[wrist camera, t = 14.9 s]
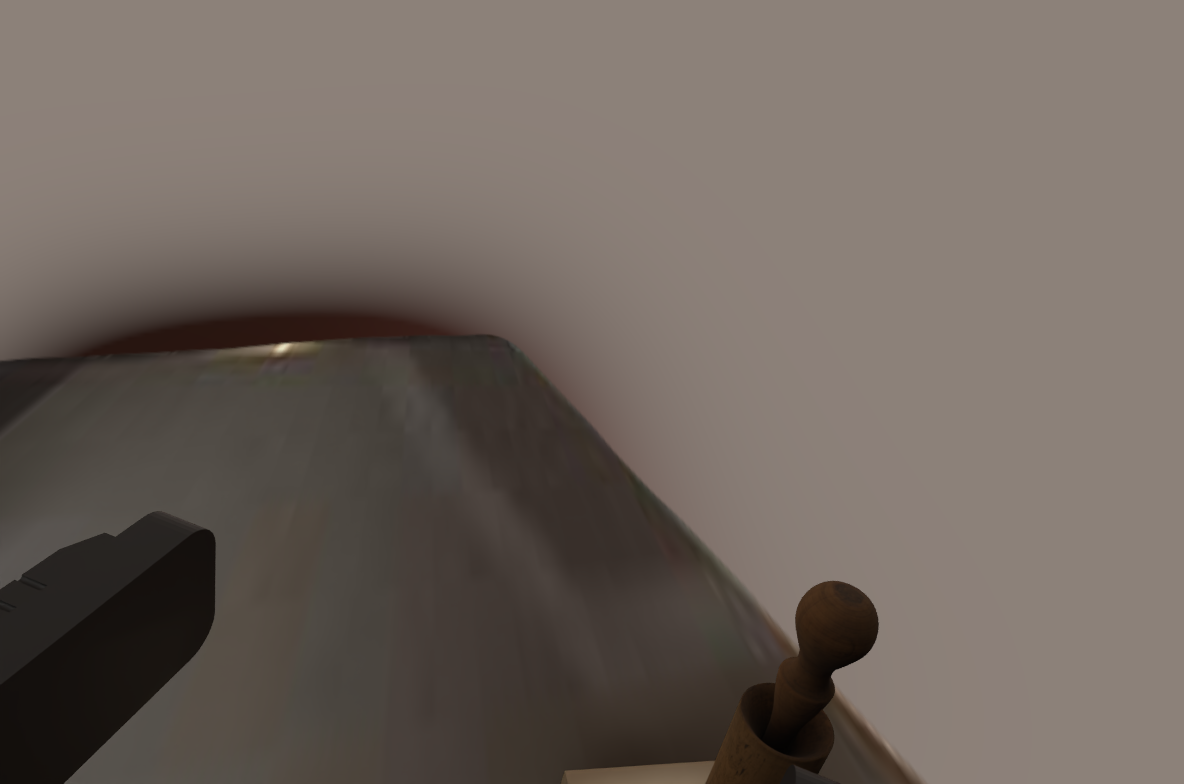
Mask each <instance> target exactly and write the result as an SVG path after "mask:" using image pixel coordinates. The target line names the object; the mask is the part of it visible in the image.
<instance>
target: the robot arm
mask: <svg viewBox="0 0 1184 784" xmlns="http://www.w3.org/2000/svg"><path fill="white" fill-rule="evenodd" d="M215 548H216V544H215V537H214V535H213V533H212V532H211V531H210V530H207V529H205V528H202V527H200V526H197V525H195V524H192V523H190V522H187V521H185V520H182V519H180V518H177V517H175V516H172V515H170V514H167V513H165V512H162V511H157V512H152V513H150V514H148V515H146V516H145V517H143V518H142V519H140V520H139V521H137V522H136V523H134V524H133V525H132V526H130V527H129V528H127V529H126V530H125V531H123V532H122V533H120V534H119V535H118V536H116V537H114V536H112V535H109V534H107V533H103V534H100V535H98V536H95V537H92V538H89V539H87V540H84V541H81V542H78V543H76V544H73V545H70V546H67V547H65V548H62V549H59V550H58V551H56V552H55V553H53V554H52V555H51V556H49V557H48V558H46V559H45V560H43V561H42V562H40V563H39V564H37V565H36V566H34V567H33V568H31V569H30V570H28V571H27V572H25V573H24V574H22V577H21V579H20V580H19V581H16V580H14V581H12V582H11V583H9V584H8V585H6V586H5V587H3V588H2V589H0V784H64V783H65V782H66V781H67V780H68V779H69V778H70V777H71V776H72V775H73V774H74V773H75V772H76V771H77V770H78V769H79V768H80V767H81V766H82V765H83V764H84V763H85V762H86V761H87V760H88V759H89V758H90V757H91V756H92V755H93V754H94V753H95V752H96V751H97V750H98V749H99V748H100V747H101V746H103V745H104V744H105V743H106V742H107V741H108V740H109V739H110V738H111V737H112V736H113V735H114V734H115V733H116V732H117V731H118V730H119V729H120V728H121V727H122V726H123V725H124V724H125V723H126V722H127V721H128V720H129V719H130V718H131V717H132V716H133V715H134V714H135V713H136V712H137V711H138V710H139V709H140V708H141V707H142V706H143V705H144V704H146V703H147V702H148V701H149V700H150V699H151V698H152V697H153V696H154V695H155V694H156V693H157V692H158V691H159V690H160V689H161V688H162V687H163V686H164V685H165V684H166V683H167V682H168V681H169V680H170V679H171V678H172V677H173V676H174V675H175V674H176V673H177V672H178V671H179V670H180V669H181V668H182V667H183V666H184V665H185V664H186V663H188V662H189V661H190V660H191V658H192V657H193V656H194V655H195V654H196V653H197V652H198V650H199V649H200V647H201V646H202V644H203V643H204V641H205V639H206V638H207V635H208V633H209V631H210V629H211V626H212V623H213V620H214V614H215ZM780 784H840V783H838V782H835V781H833V780H830V779H828V778H825V777H823V776H820V775H818V774H815V773H813V772H810V771H808V770H805V769H803V768H800V767H798V766H795V765H790V766H789V768H788V769H787V770H786V772H785V774H784V776H783V778H782V780H781V782H780Z"/></svg>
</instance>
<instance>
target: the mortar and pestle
mask: <svg viewBox="0 0 1184 784" xmlns="http://www.w3.org/2000/svg"><path fill="white" fill-rule="evenodd" d="M795 623H796V631H797V638H798V643H799V648H800V651H799V655H798V657H791V658H788V659H786V660H784V661H783V662H782V663H781V665H780V667H779V670H778V674H777V678H776V683H762V684H757V685H754V686H752V687H750V688H749V689H747V690H746V692H745V693H744V694H743V696H742V698H741V700H740V702H739V705H738V707H737V709H736V712H735V714H734V717H733V719H732V722H731V724H730V726H729V729H728V731H727V734H726V736H725V738H724V741H723V743H722V746H721V748H720V750H719V753H718V755H717V757H716V760H715V762H714V765H713V767H712V769H711V772H710V774H709V776H708V778H707V781H706V783H705V784H780V782H781V780H782V778H783V776H784V774H785V772H786V770H787V769H788V768H789V766H790V765H795V766H798V767H800V768H803V769H805V770H808V771H810V772H813V773H815V774H818V773H819V771H820V769H821V767H822V766H823V764H824V762H825V760H826V759H827V757H828V755H829V753H830V751H831V749H832V747H833V744H834V731H833V727H832V724H831V722H830V720H829V718H828V716H827V715H826V714H825V712H824V711H823V709H824V708H825V706H826V705H827V704H828V703H829V702H830V700H831V699H832V698H833V696H834V693H835V686H834V683H833V680H832V678H831V675H832V673H833V672H834V670H836V669H839V668H842V667H845V666H847V665H849V664H851V663H854V662H856V661H858V660H859V659H861V658H862V657H864V656H865V655H866V654H867V653H868V652H869V651H870V650H871V648H872V647H873V645H874V643H875V641H876V638H877V634H878V625H879V623H878V616H877V612H876V609H875V607H874V605H873V603H872V602H871V601H870V599H869V598H868V597H867V596H866V595H865V594H864V593H863V592H862V591H860V590H859V589H858V588H855V587H854V586H852V585H850V584H847V583H844V582H839V581H828V582H823V583H820V584H818V585H816V586H814V587H812V588H811V589H810V590H809V591H808V592H807V593H806V594H805V595H804V596H803V597H802V599H801V601H800V603H799V605H798V607H797V611H796V617H795Z"/></svg>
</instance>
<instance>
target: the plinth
mask: <svg viewBox="0 0 1184 784" xmlns="http://www.w3.org/2000/svg"><path fill="white" fill-rule="evenodd" d="M714 762H715V761H703V762H688V763H673V764H658V765H643V766H629V767H614V768H599V769H584V770H569V771H565V772H564V775H563V778H562V781H561V784H705V783H706V781H707V778H708V776H709V774H710V772H711V769H712V767H713V765H714Z"/></svg>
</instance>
